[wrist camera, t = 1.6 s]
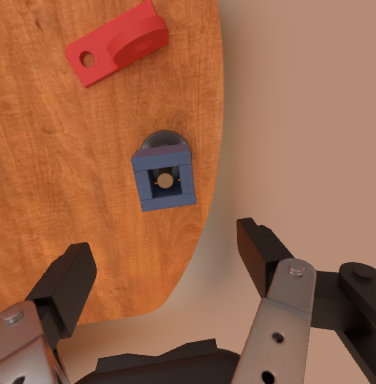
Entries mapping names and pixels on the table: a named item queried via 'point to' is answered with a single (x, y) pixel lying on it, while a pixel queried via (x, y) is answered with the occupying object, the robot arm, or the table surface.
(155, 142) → the dowel stand
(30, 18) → the table surface
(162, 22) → the bracket
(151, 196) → the holed block
